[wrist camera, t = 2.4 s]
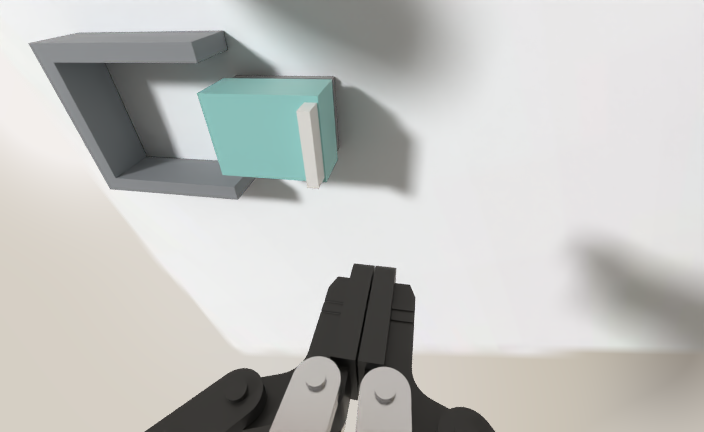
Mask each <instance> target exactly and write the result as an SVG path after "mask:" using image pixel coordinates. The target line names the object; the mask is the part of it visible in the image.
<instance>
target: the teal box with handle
mask: <svg viewBox="0 0 704 432" xmlns="http://www.w3.org/2000/svg"><path fill="white" fill-rule="evenodd" d="M197 95H198V98H199V101H200V104H201V108H202V111H203V114H204V117H205V120H206V123H207V127H208V130H209V133H210V136H211V139H212V143H213V146H214V149H215V152H216V155H217V159H218V162H219V165H220V168H221V171H222V175H227V176H242V177H257V178H271V179H286V180H300V181H306V183H307V188H314V189H319V187H320V185H321V183H322V182H327V180H328V178H329V176H330V174H331V172H332V170H333V168H334V166H335V164H336V162H337V160H338V156H337V151H338V150H339V138H338V124H337V110H336V95H335V81H334V76H245V75H236V76H235V77H233V78H223V79H221V80H219V81H218V82H216V83H214V84H212V85H211V86H209V87H207V88H205V89H204V90H202V91H200V92H199V93H197Z"/></svg>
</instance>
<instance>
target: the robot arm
mask: <svg viewBox="0 0 704 432" xmlns="http://www.w3.org/2000/svg"><path fill="white" fill-rule="evenodd" d="M395 282H396V268H391V267H382V266H376V267H375V266H372V265H363V264H354V265H353V268H352V272H351V276H350V278H345V277H337V279H336V280H335V281H334V282H333V283H332V284H331V285H330V287H329V289H328V292H327V295H326V298H325V302H324V304H323V307H322V312H321V314H320V317H319V320H318V323H317V326H316V330H315V333H314V336H313V339H312V342H311V345H310V349H309V352H308V354H307V356H306V358H305V359H304V361H303V362H302V363H301V364H300V365H299V366H298V367H296V368H295V369H293V370H291V371H289V372H287V373H283V374H278V375H272V376H266V377H260V375H259V374H258V373H257V372H255V371H254V370H252V369H247V368H246V369H245V368H242V369H237V370H234V371H232V372H230V373H228V374H227V375H225V376H224V377H222V378H221V379H219V380H218V381H217V382H215V383H214V384H212V385H211V386H209V387H208V388H207V389H205V390H204V391H202V392H201V393H199V394H198V395H196V396H195V397H194V398H192V399H191V400H189V401H188V402H187V403H185V404H184V405H182V406H181V407H179V408H178V409H176V410H175V411H174V412H172V413H171V414H169V415H168V416H166V417H165V418H164V419H162V420H161V421H159V422H158V423H157V424H155V425H154V426H152V427H151V428H149V429H148V430H146V431H145V432H344V428H345V424H346V422H345V421H346V418H347V412H348V407H349V402H350V399H354V400H358V396H359V402H358V413H357V423H356V432H495V431H494V430H493V428H492V427H491V426H490V424H489V423H488V422H487V421H486V420H485V419H484V418H483V417H482V416H481V415H480V414H479V413H477V412H476V411H474V410H471V409H469V408H465V407H455V408H451V409H448V408H446V407H445V406H443V405H441V404H439V403H437V402H435V401H433V400H432V399H430V398H428V397H427V396H426V395H425V394H423V393H422V392H421V390H420V389H419V388H418V387H417V385H416V383H415V381H414V379H413V375H412V351H413V332H414V313H415V296H414V293H413V291H412V289H411V287H410V285H406V284H397V283H395Z"/></svg>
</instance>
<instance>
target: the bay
mask: <svg viewBox="0 0 704 432" xmlns="http://www.w3.org/2000/svg"><path fill="white" fill-rule="evenodd" d="M29 45H30V47H31V49H32V50H33V52H34V54H35V56H36V58H37V59H38V61H39V63H40V65H41V66H42V68H43V70H44V72H45V74H46V75H47V77H48V79H49V81H50V83H51V84H52V86H53V88H54V90H55V91H56V93H57V95H58V97H59V99H60V100H61V102H62V104H63V106H64V107H65V109H66V111H67V113H68V115H69V116H70V118H71V120H72V122H73V124H74V125H75V127H76V129H77V131H78V132H79V134H80V136H81V138H82V140H83V141H84V143H85V145H86V147H87V148H88V150H89V152H90V154H91V156H92V157H93V159H94V161H95V163H96V165H97V166H98V168H99V170H100V172H101V173H102V175H103V177H104V179H105V181H106V182H107V184H108V186H109V188H110V189H115V190H128V191H140V192H152V193H164V194H176V195H189V196H201V197H213V198H225V199H239V197H240V196H241V195H242V194H243V193H244V191H245V190H246V189H247V188H248V186H249V185H250V184H251V183H252V181H253V180H254V179H255V178H256V177H242V176H227V175H222V171H221V168H220V165H219V162H218V161H213V160H196V159H180V158H163V157H147V156H146V154H145V151H144V149H143V147H142V145H141V142H140V140H139V138H138V136H137V134H136V131H135V129H134V127H133V125H132V123H131V120H130V118H129V116H128V114H127V111H126V109H125V107H124V105H123V103H122V100H121V98H120V96H119V94H118V92H117V89H116V87H115V85H114V83H113V81H112V78H111V76H110V74H109V72H108V69H107V67H106V65H105V63H199V62H201V61H203V60H205V59H207V58H210V57H212V56H214V55H216V54H219V53H221V52H223V51H225V50H228V49H227V44H226V40H225V36H224V32H223V31H171V32H104V33H75V34H70V35H65V36H61V37H56V38H51V39H47V40H42V41H37V42H33V43H29Z"/></svg>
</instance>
